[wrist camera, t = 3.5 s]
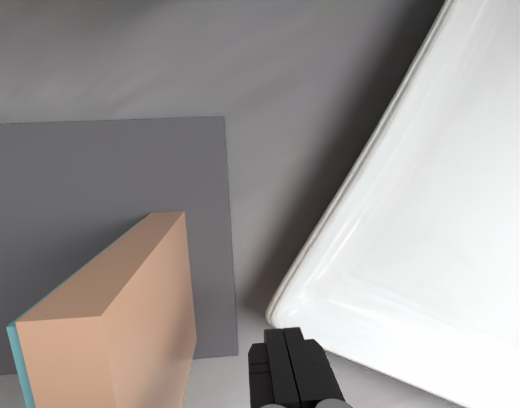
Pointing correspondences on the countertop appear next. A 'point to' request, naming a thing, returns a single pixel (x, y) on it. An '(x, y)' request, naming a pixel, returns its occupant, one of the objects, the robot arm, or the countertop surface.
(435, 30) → the square plate
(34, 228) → the mat
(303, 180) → the countertop surface
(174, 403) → the tile
